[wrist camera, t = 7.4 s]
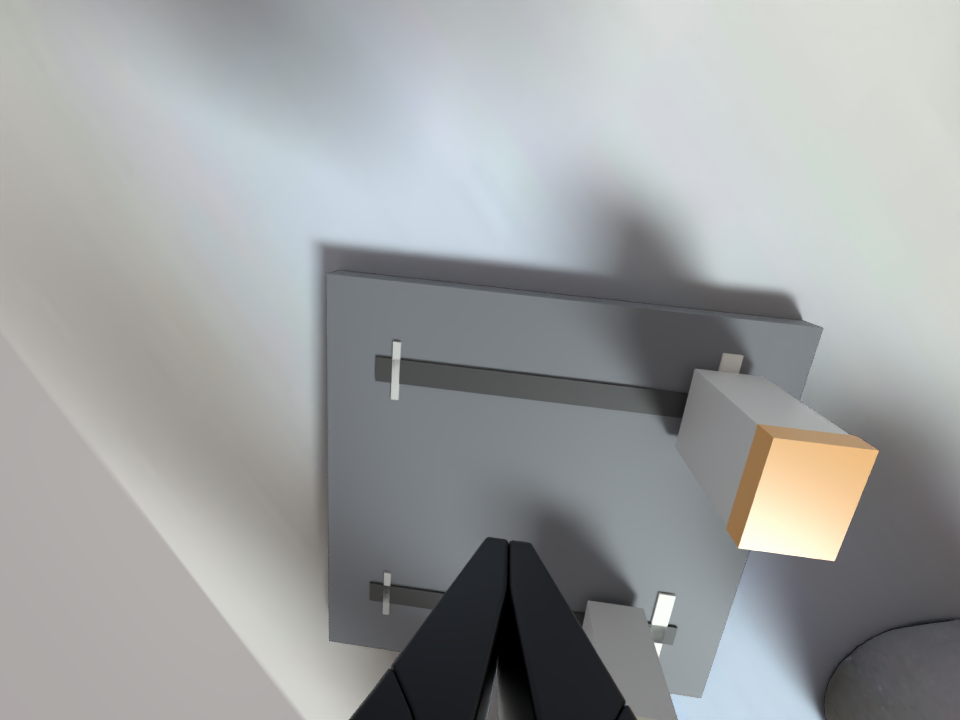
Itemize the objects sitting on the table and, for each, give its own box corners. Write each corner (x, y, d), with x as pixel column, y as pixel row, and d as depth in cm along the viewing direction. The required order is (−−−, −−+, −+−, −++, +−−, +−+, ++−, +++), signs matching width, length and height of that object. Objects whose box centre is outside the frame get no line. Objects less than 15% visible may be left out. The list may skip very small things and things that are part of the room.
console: (692, 674, 23) (701, 700, 22) (338, 620, 24) (328, 642, 23) (803, 320, 17) (825, 328, 16) (338, 270, 18) (325, 273, 17)
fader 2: (740, 456, 18) (834, 561, 12) (673, 448, 18) (738, 548, 12) (764, 375, 17) (879, 450, 11) (693, 367, 17) (773, 437, 11)
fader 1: (630, 664, 21) (666, 816, 16) (574, 656, 21) (592, 804, 16) (644, 607, 20) (689, 749, 15) (587, 599, 20) (610, 737, 15)
